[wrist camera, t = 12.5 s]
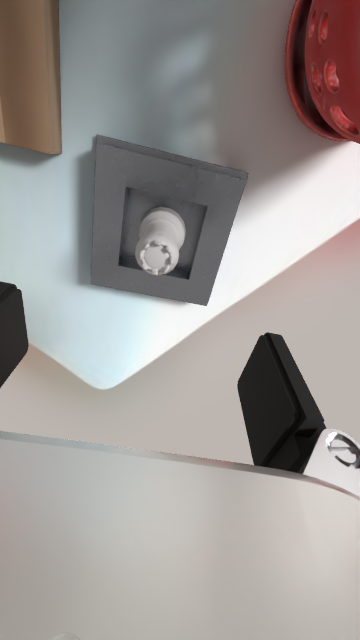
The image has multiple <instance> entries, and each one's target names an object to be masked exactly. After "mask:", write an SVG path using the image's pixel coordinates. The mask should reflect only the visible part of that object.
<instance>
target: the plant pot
mask: <svg viewBox="0 0 360 640" xmlns="http://www.w3.org/2000/svg"><path fill="white" fill-rule="evenodd" d="M285 76H286V83H287V89H288V93H289V97H290V100H291V103H292V105H293V107H294V109H295V112H296V113H297V115H298V116H299V118H300V119H301V121H302V122H303V123H304V124H305V125H306V126H307V127H308V128H309V129H310V130H312V131H313V132H315V133H316V134H318V135H320V136H322V137H325V138H327V139H331V140H336V141H354V142H356V143H359V144H360V0H296V1H295V4H294V7H293V10H292V14H291V17H290V21H289V26H288V31H287V38H286V46H285Z"/></svg>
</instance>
